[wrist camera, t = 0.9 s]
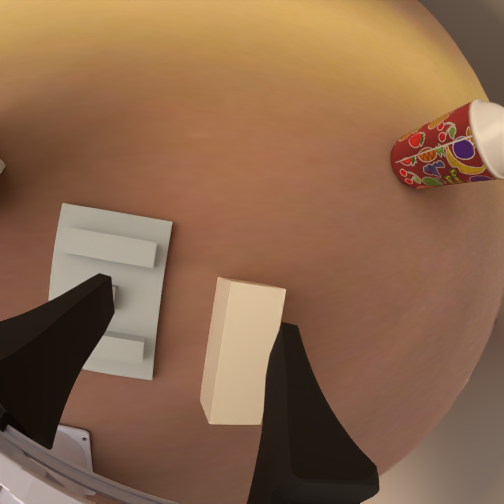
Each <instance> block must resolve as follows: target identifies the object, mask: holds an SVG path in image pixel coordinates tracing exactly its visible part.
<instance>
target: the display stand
mask: <svg viewBox="0 0 504 504" xmlns="http://www.w3.org/2000/svg"><path fill="white" fill-rule="evenodd" d="M171 228H172V222H170V221H165V220H159V219H153V218H148V217H142V216H136V215H130V214H125V213H119V212H113V211H107V210H101V209H95V208H89V207H83V206H77V205H71V204H65V203H62V208H61V213H60V218H59V223H58V229H57V235H56V241H55V247H54V254H53V262H52V270H51V279H50V289H49V301H51V300H53V299H54V298H56V297H58V296H60V295H62V294H64V293H65V292H67V291H69V290H70V289H72V288H74V287H76V286H77V285H79V284H81V283H82V282H84V281H86V280H88V279H89V278H91V277H93V276H95V275H97V274H98V273H101V274H104V275H108V276H111V277H112V289H113V300H114V309H115V313H114V315H113V317H112V319H111V322H110V324H109V326H108V328H107V330H106V332H105V333H104V335H103V336H102V338H101V340H100V341H99V343H98V344H97V346H96V347H95V349H94V350H93V352H92V353H91V355H90V357H89V358H88V360H87V361H86V363H85V364H84V366H83V368H82V369H85V370H90V371H95V372H101V373H106V374H112V375H119V376H125V377H132V378H139V379H146V380H152V375H153V364H154V353H155V343H156V333H157V324H158V316H159V307H160V300H161V292H162V285H163V278H164V271H165V264H166V258H167V252H168V246H169V240H170V234H171Z"/></svg>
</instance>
